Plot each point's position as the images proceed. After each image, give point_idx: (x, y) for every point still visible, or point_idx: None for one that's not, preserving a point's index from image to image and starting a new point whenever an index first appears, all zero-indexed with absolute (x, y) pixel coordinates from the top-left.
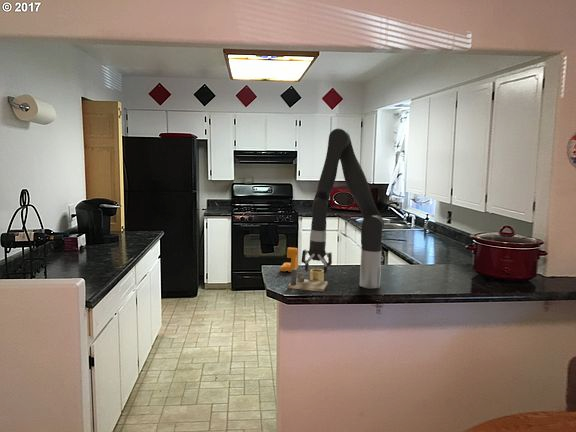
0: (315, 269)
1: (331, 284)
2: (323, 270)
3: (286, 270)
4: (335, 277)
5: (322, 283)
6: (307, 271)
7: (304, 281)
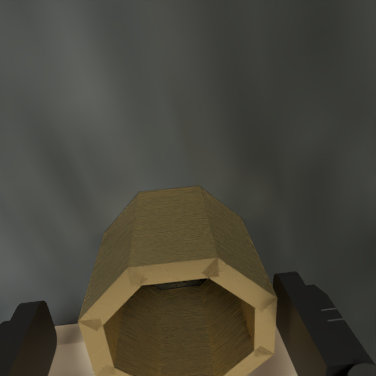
0: (137, 287)
1: (328, 288)
2: (271, 301)
3: None
4: (366, 20)
5: (267, 369)
6: (55, 347)
7: None
